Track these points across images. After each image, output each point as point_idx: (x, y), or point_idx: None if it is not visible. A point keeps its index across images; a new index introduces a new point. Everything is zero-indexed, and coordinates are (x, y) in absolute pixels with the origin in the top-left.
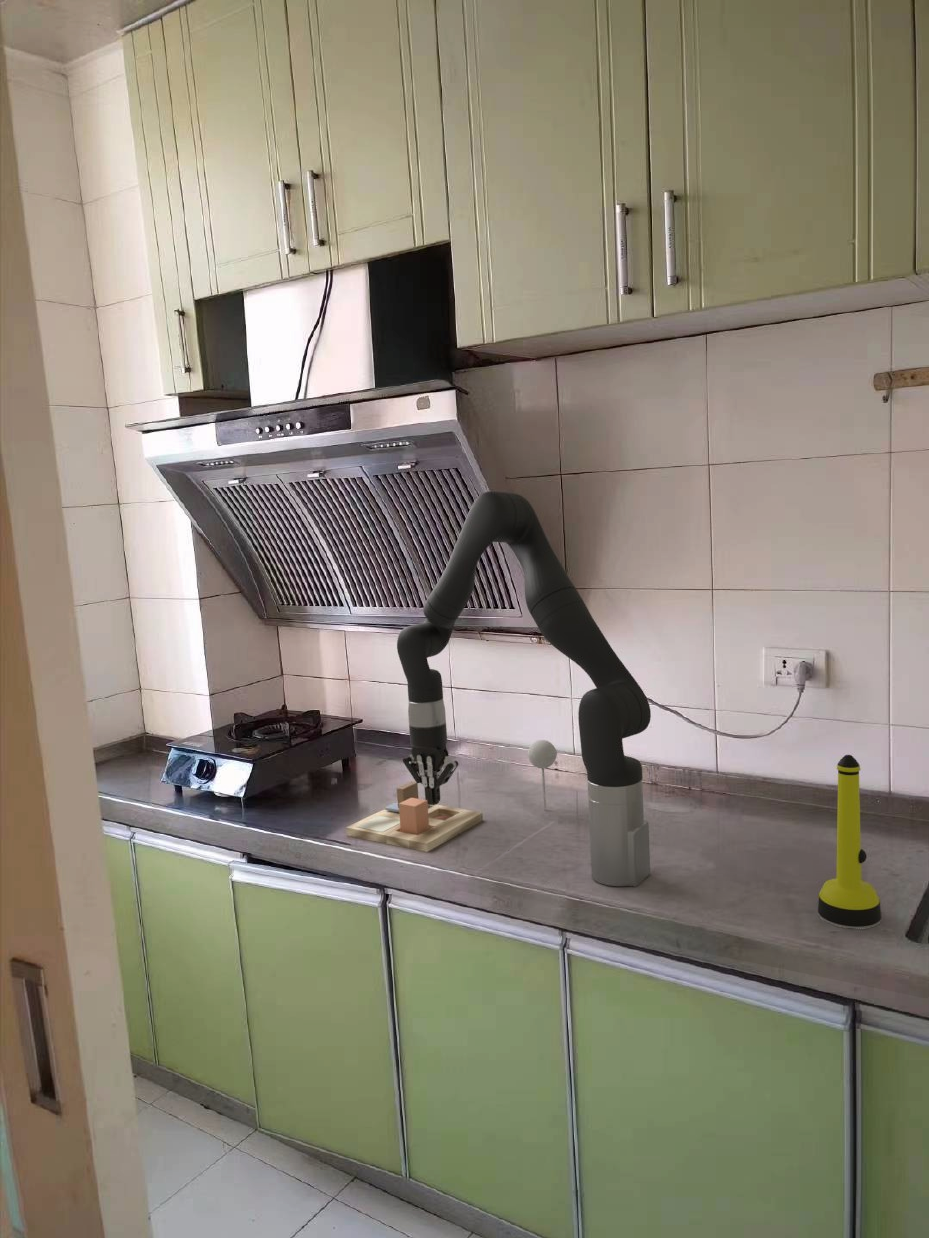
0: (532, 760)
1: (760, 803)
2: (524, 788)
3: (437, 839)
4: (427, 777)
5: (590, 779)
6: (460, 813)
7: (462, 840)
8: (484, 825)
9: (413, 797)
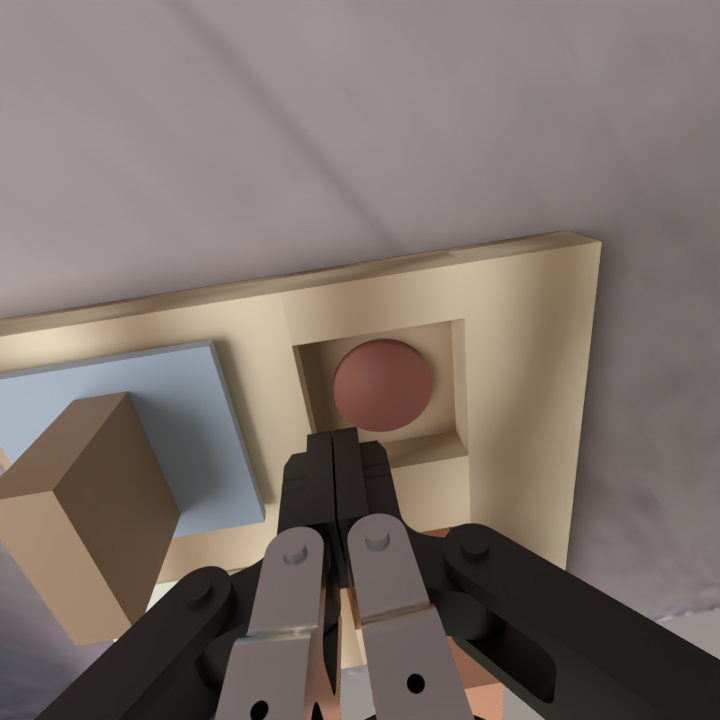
0: None
1: None
2: None
3: None
4: (338, 678)
5: None
6: (482, 336)
7: (593, 458)
8: (601, 268)
9: (131, 467)
